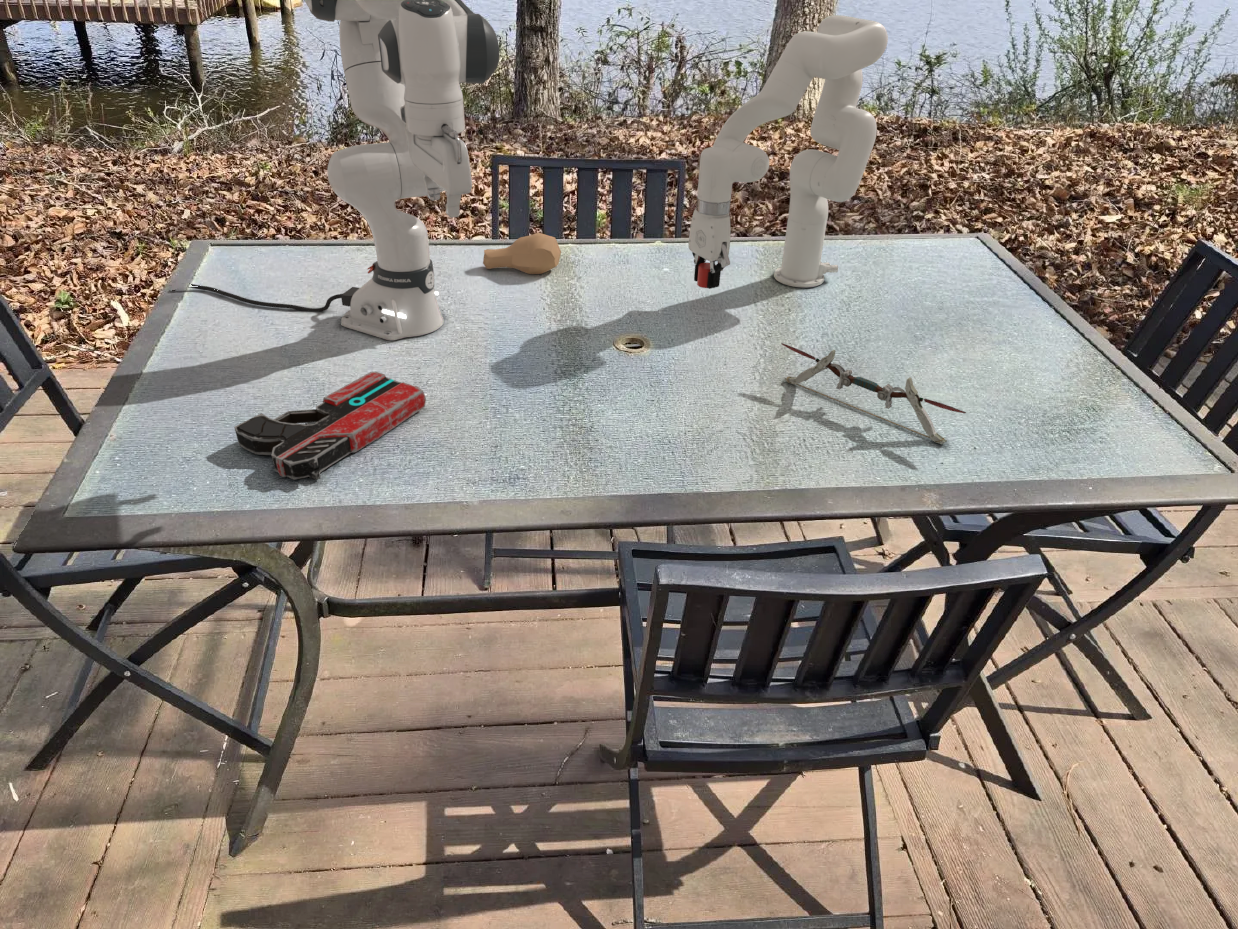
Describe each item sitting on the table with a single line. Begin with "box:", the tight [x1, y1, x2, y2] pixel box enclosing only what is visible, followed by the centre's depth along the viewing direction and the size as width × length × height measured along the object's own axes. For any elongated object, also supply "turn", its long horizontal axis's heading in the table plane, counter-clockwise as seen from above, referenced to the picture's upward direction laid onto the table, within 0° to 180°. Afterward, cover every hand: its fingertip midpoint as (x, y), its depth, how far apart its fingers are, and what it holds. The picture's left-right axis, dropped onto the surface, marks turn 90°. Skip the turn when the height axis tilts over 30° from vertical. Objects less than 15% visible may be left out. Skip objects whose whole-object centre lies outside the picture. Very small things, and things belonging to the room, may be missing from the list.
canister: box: [696, 262, 711, 289], centre depth 204 cm, size 4×4×5 cm
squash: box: [482, 232, 562, 275], centre depth 222 cm, size 11×20×9 cm, turn 90°
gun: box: [234, 371, 427, 481], centre depth 156 cm, size 4×31×19 cm
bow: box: [780, 342, 967, 445], centre depth 165 cm, size 39×2×10 cm, turn 47°
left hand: (443, 207), depth 143 cm, fingers open, 8 cm apart
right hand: (706, 282), depth 206 cm, fingers closed on canister, 4 cm apart
